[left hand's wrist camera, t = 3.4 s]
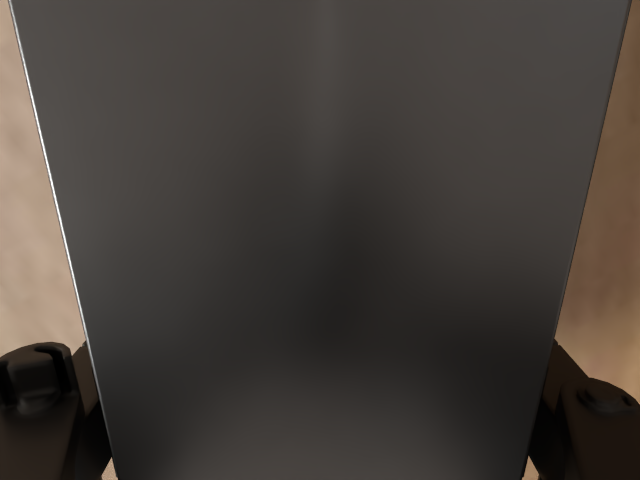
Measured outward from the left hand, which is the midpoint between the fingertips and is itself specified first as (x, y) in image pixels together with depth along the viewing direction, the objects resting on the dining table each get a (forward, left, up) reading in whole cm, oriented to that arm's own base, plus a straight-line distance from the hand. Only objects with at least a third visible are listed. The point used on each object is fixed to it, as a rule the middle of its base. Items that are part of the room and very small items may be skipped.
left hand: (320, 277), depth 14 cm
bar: (+7, 0, -1) cm, 7 cm away
